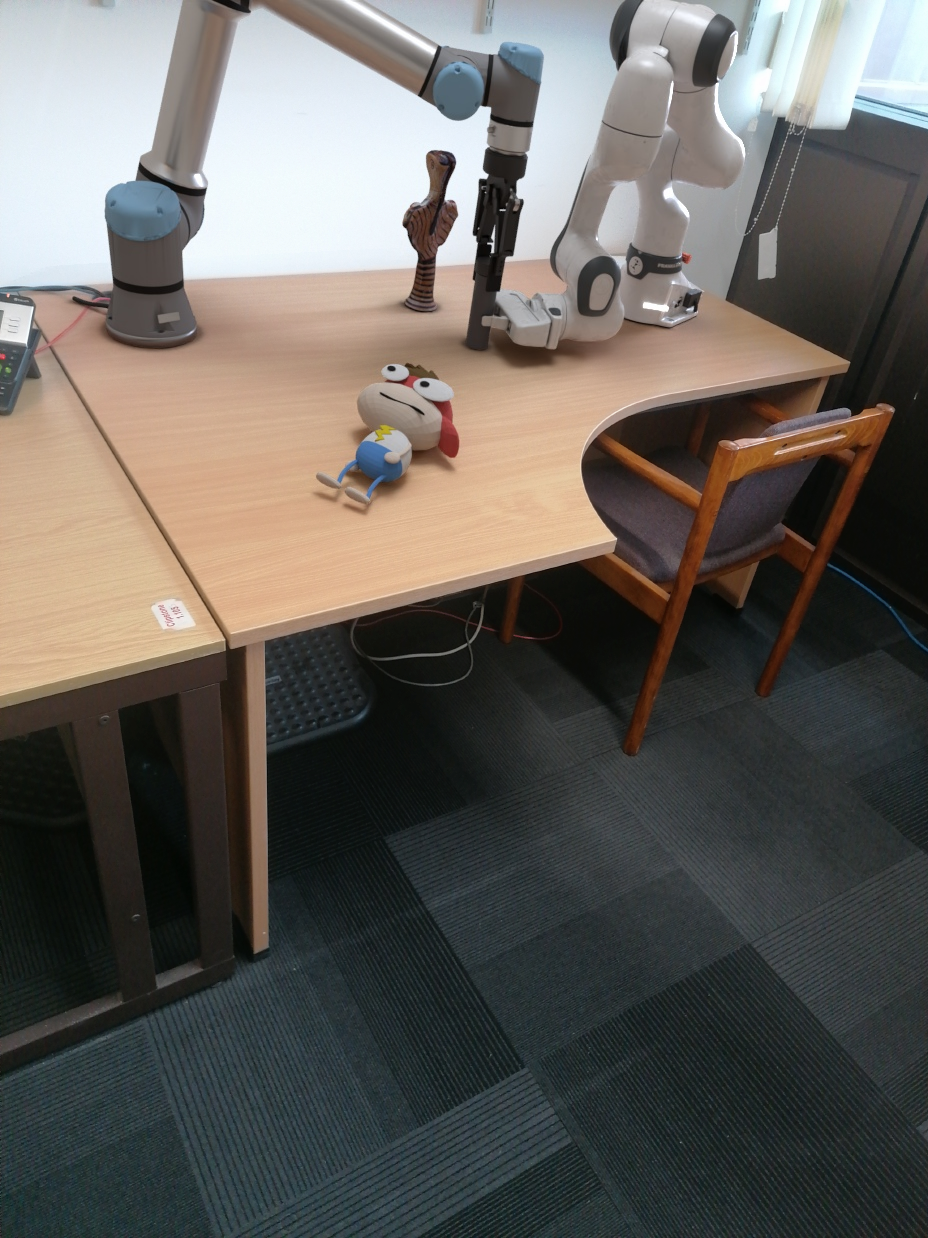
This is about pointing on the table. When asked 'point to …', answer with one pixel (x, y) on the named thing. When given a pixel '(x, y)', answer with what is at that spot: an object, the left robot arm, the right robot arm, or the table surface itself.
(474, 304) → the dark grey bottle
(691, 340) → the table surface
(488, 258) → the lid
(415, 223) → the figurine
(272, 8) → the left robot arm
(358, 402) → the toy
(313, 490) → the table surface
